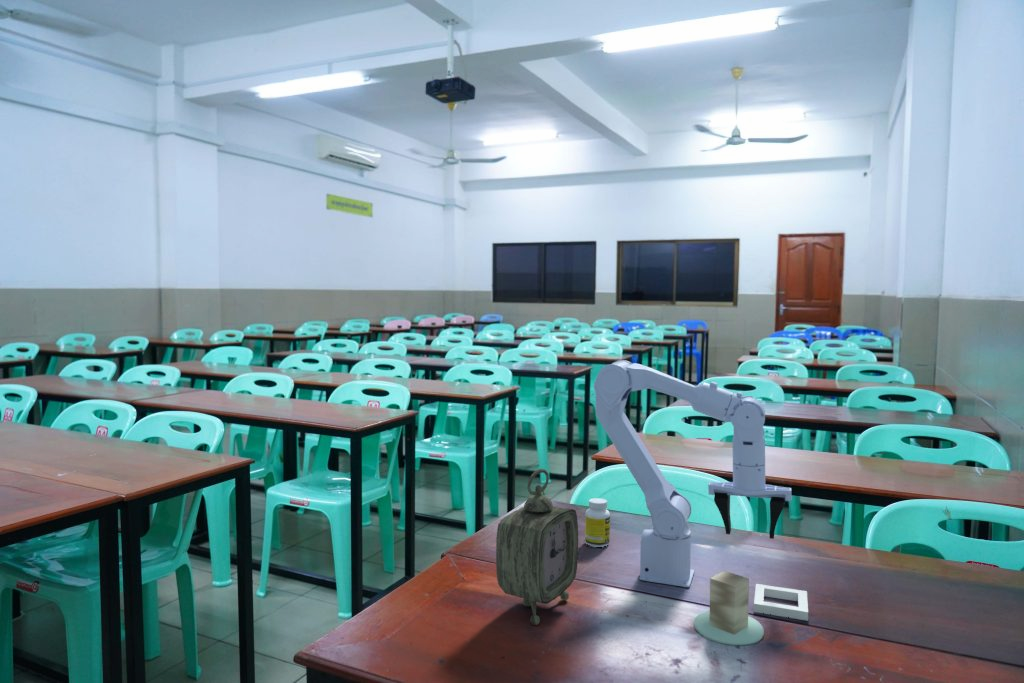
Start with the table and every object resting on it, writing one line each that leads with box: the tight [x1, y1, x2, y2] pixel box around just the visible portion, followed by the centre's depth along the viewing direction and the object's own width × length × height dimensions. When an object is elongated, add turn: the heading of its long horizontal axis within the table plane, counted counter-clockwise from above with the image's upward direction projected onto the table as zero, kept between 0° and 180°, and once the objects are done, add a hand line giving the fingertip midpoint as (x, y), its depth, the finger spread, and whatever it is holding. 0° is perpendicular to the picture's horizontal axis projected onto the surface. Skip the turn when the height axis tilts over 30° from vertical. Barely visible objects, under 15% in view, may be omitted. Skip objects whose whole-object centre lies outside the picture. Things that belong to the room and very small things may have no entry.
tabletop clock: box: [495, 468, 579, 626], centre depth 119 cm, size 14×9×25 cm, turn 148°
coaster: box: [693, 610, 765, 646], centre depth 113 cm, size 11×11×1 cm
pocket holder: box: [753, 583, 809, 622], centre depth 121 cm, size 9×9×2 cm
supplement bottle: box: [584, 497, 611, 548], centre depth 151 cm, size 5×5×10 cm
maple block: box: [709, 570, 750, 635], centre depth 113 cm, size 4×4×8 cm
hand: (749, 534), depth 127 cm, fingers open, 7 cm apart
